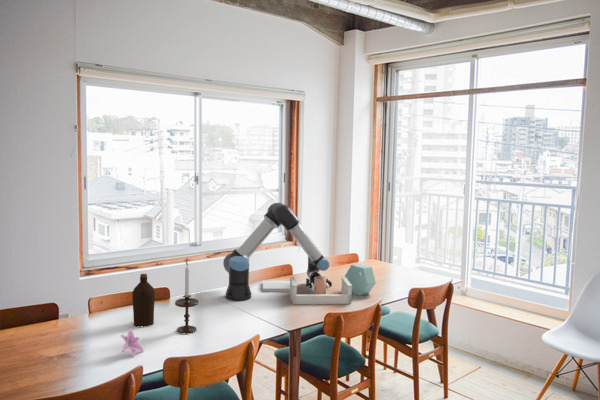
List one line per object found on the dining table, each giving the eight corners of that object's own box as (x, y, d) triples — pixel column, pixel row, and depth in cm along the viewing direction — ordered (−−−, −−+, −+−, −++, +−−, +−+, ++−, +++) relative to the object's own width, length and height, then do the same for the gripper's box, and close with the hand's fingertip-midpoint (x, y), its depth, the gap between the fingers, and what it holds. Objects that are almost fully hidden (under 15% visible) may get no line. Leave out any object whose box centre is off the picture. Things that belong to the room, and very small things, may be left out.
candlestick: (177, 336, 229) (177, 262, 226) (173, 328, 239) (173, 257, 235) (200, 333, 234) (201, 260, 230) (195, 325, 243) (196, 256, 240)
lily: (117, 364, 201) (129, 345, 200) (106, 345, 208) (117, 326, 207) (141, 363, 210) (152, 345, 209) (130, 345, 217) (140, 328, 216)
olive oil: (158, 324, 243) (158, 275, 241) (138, 329, 236) (138, 278, 234) (148, 318, 251) (148, 270, 248) (128, 323, 244) (128, 273, 241)
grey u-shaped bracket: (292, 304, 281) (292, 285, 280) (289, 293, 301) (289, 276, 300) (351, 303, 285) (352, 285, 284) (344, 293, 305) (345, 276, 304)
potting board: (263, 291, 304) (263, 288, 304) (262, 283, 322) (262, 280, 322) (292, 291, 306) (292, 288, 306) (289, 283, 324) (289, 280, 324)
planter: (365, 299, 310) (380, 276, 299) (356, 301, 305) (371, 278, 294) (349, 280, 320) (363, 257, 309) (341, 281, 315) (355, 258, 304)
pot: (314, 300, 289) (315, 279, 288) (313, 297, 296) (313, 275, 295) (326, 300, 290) (327, 279, 288) (324, 297, 297) (325, 275, 295)
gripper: (331, 283, 313) (338, 294, 291) (298, 283, 311) (302, 294, 288) (332, 272, 312) (338, 281, 290) (299, 272, 310) (303, 281, 287)
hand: (320, 288), depth 289 cm, fingers open, 8 cm apart
